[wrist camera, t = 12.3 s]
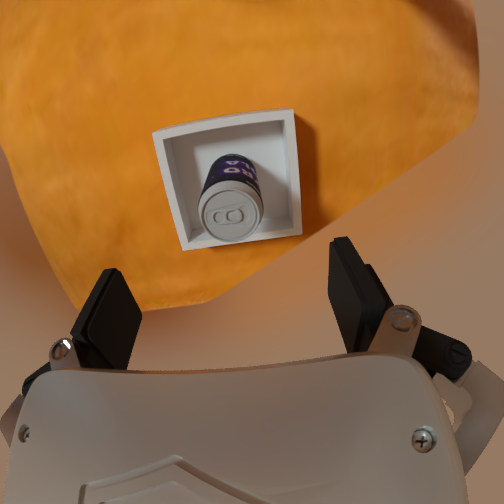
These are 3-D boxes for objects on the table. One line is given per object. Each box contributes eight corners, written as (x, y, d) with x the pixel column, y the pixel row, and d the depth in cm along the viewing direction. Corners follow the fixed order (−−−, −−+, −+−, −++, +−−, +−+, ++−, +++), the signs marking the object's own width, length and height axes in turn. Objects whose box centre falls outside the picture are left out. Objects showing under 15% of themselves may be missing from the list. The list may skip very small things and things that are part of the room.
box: (286, 108, 29) (293, 109, 25) (296, 220, 37) (302, 234, 33) (161, 128, 29) (152, 133, 26) (187, 235, 37) (182, 250, 34)
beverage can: (257, 193, 34) (266, 243, 24) (212, 198, 34) (201, 249, 24) (254, 150, 31) (262, 180, 21) (206, 155, 31) (190, 188, 21)
